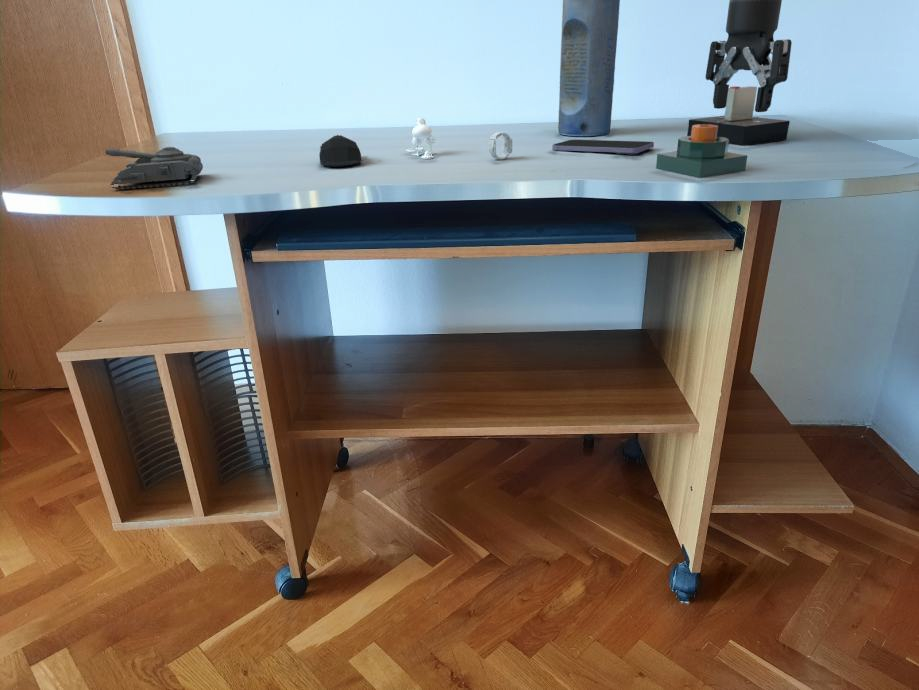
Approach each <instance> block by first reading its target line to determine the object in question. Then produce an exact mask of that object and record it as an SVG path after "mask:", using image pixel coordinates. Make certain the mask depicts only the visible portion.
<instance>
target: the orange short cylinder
mask: <svg viewBox="0 0 919 690" xmlns="http://www.w3.org/2000/svg"><path fill="white" fill-rule="evenodd" d="M717 132H718V126H717V125H711V124H698V125H693V126H692V131H691V140H693V141H716V139H717Z"/></svg>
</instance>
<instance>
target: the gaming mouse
mask: <svg viewBox="0 0 919 690" xmlns="http://www.w3.org/2000/svg"><path fill="white" fill-rule="evenodd" d="M319 149H320V150H319V154H318V155H319V157H318V158H319V164H320V165H321V166H323V167H332V168H333V167H334V168H335V167H336V168H337V167H339V168H340V167H348V166H354V165H358V164H360V163H361V162H362V153H361V150H360V148H359V145H358V144H357V142H356V141H355V140H352V139H351V138H347V137H346V136H344V135H342V134H341V135H340V134H336V135H333V136H332V137H330V138H329V139H327V140H326V141H324V142H323V143H321V145H320V146H319Z"/></svg>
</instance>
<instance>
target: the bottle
mask: <svg viewBox="0 0 919 690" xmlns="http://www.w3.org/2000/svg"><path fill="white" fill-rule="evenodd" d="M620 4H621V0H562V16H561V18H562V19H561V38H560V39H561V40H560V62H559V63H560V65H559V66H560V67H559V95H558V96H559V100H558V101H559V102H558V103H559V104H558V125H557V131H558V134H560V135H563V136H567V137H595V136H597V137H598V136H604V135H608V134H609V133H610V132H611V127H612V126H611V125H612V110H613V100H614V99H613V97H614V85H615V71H616V59H617V58H616V57H617V45H618V32H619V20H620V19H619V18H620V6H621V5H620Z"/></svg>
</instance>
